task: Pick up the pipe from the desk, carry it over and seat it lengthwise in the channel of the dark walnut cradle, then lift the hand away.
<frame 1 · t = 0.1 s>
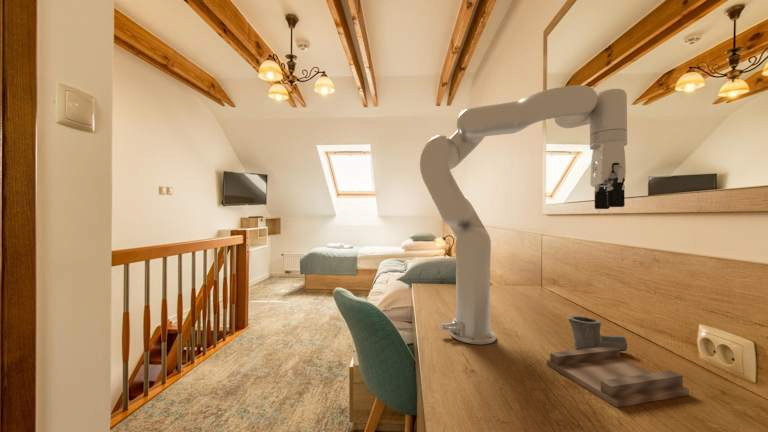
hand: (608, 208, 73), 37 cm above the table, tool pointing down, fingers open, 9 cm apart
cradle: (611, 378, 62), on the table
pipe: (595, 351, 76), on the table
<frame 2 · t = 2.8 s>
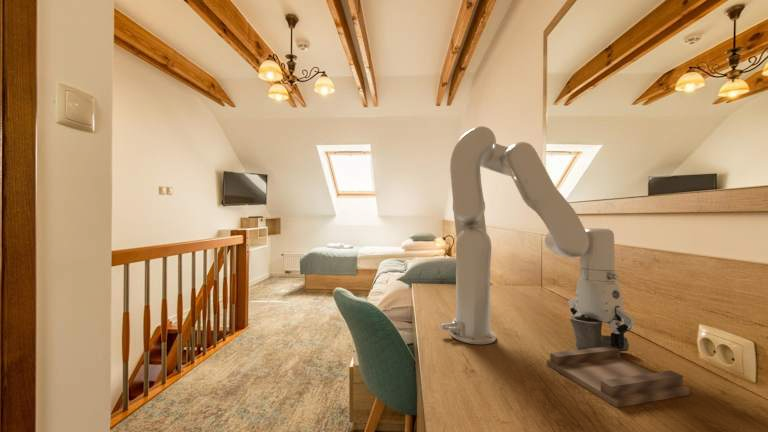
hand: (598, 341, 76), 2 cm above the table, tool pointing down, fingers open, 9 cm apart
nothing on the table moved.
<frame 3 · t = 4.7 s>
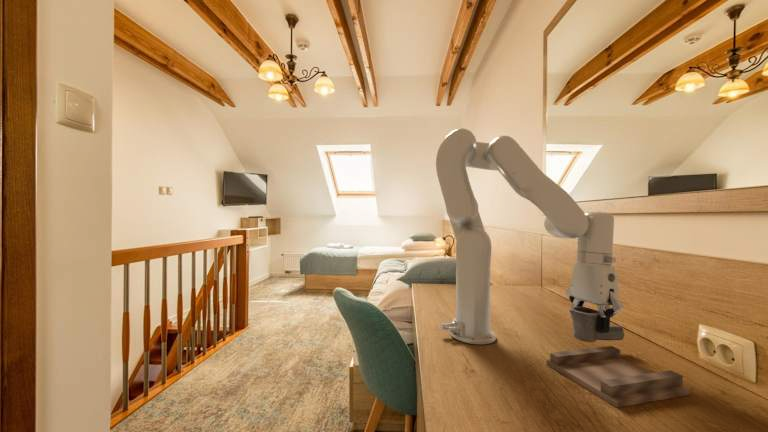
hand: (590, 326, 76), 6 cm above the table, tool pointing down, fingers closed on pipe, 6 cm apart
pipe: (593, 340, 76), point 2 cm above the table, touching gripper
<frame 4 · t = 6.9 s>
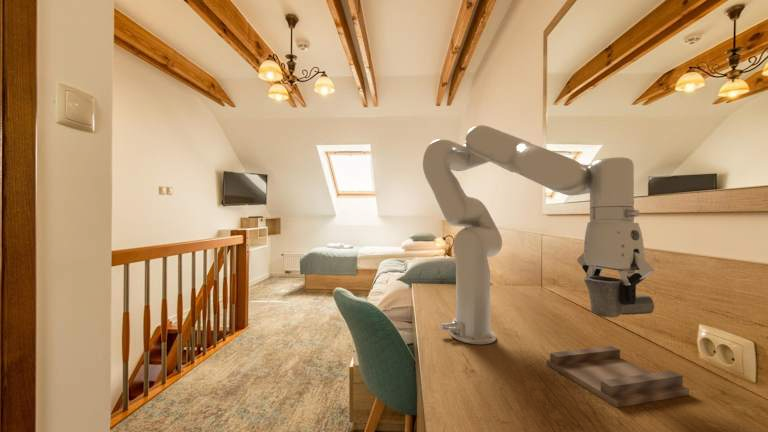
hand: (611, 299, 62), 17 cm above the table, tool pointing down, fingers closed on pipe, 6 cm apart
pipe: (615, 315, 62), point 13 cm above the table, touching gripper
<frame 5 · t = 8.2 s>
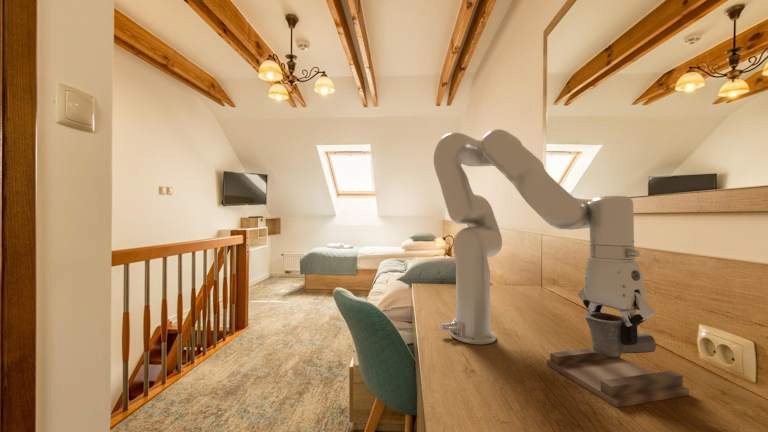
hand: (612, 337, 62), 9 cm above the table, tool pointing down, fingers closed on pipe, 6 cm apart
pipe: (617, 354, 62), point 5 cm above the table, touching gripper
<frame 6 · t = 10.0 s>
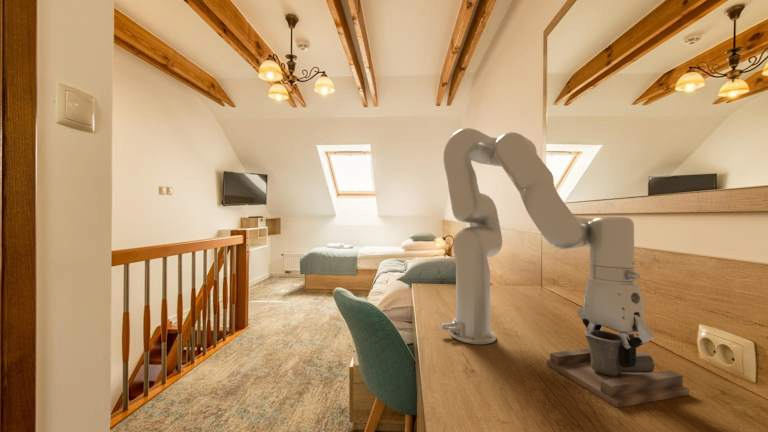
hand: (611, 357, 62), 4 cm above the table, tool pointing down, fingers closed on pipe, 5 cm apart
pipe: (615, 372, 62), point 1 cm above the table, touching cradle, gripper
when the fingers open (4 cm above the table, at t = 10.0 s): pipe stays where it is, resting on cradle.
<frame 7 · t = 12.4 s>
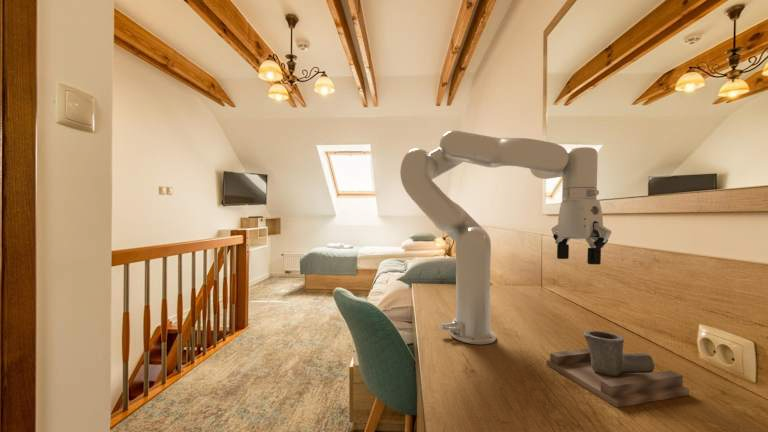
hand: (577, 261, 76), 23 cm above the table, tool pointing down, fingers open, 9 cm apart
pipe: (616, 373, 62), point 1 cm above the table, touching cradle
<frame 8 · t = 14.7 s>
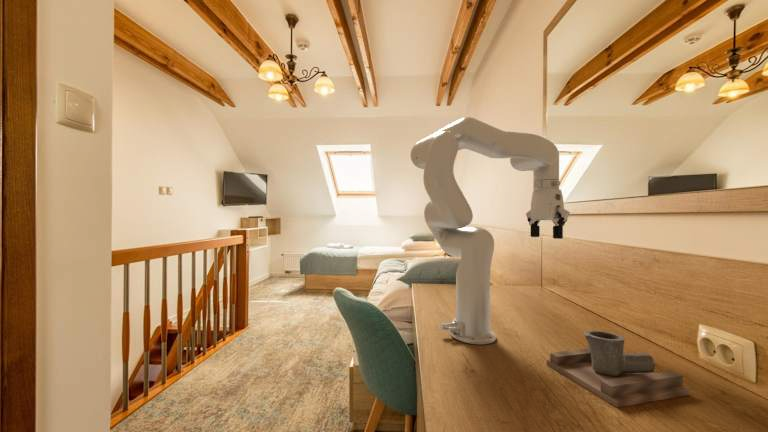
hand: (545, 237, 97), 28 cm above the table, tool pointing down, fingers open, 9 cm apart
nothing on the table moved.
at the end: pipe 1.3 cm off-centre on the cradle, point 1.0 cm above the cradle's base; pipe touching cradle; the gripper is holding nothing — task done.
